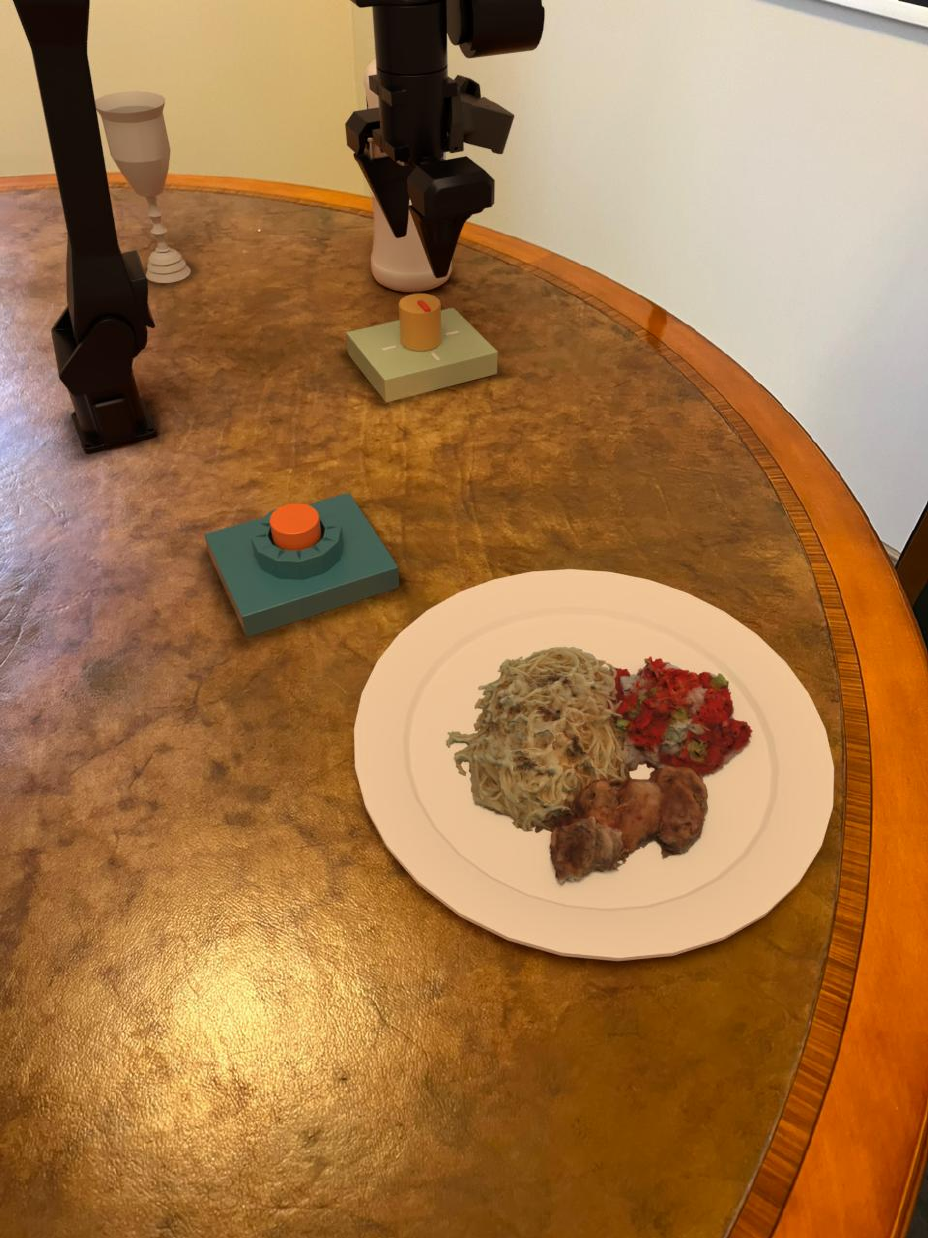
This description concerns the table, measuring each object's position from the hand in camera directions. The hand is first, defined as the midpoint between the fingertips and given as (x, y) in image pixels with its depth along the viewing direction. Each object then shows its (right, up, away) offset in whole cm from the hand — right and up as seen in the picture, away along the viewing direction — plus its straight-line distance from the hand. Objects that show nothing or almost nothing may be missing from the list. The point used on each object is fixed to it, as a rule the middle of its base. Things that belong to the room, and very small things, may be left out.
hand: (420, 255), depth 85 cm
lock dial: (0, -6, +7) cm, 9 cm away
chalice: (-30, +6, +22) cm, 38 cm away
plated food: (+12, -42, -25) cm, 50 cm away
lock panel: (0, -8, +8) cm, 11 cm away
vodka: (-2, +6, +22) cm, 23 cm away
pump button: (-8, -27, -16) cm, 33 cm away
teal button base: (-8, -30, -13) cm, 34 cm away
